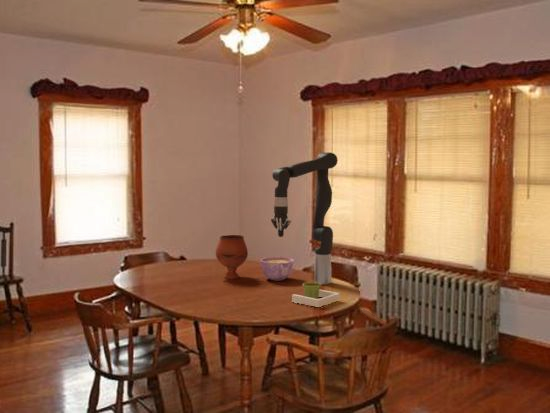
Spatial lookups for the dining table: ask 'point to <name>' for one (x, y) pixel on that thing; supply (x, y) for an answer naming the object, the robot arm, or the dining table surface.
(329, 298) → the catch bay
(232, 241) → the goblet
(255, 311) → the dining table surface
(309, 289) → the plant pot
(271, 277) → the bowl of food
